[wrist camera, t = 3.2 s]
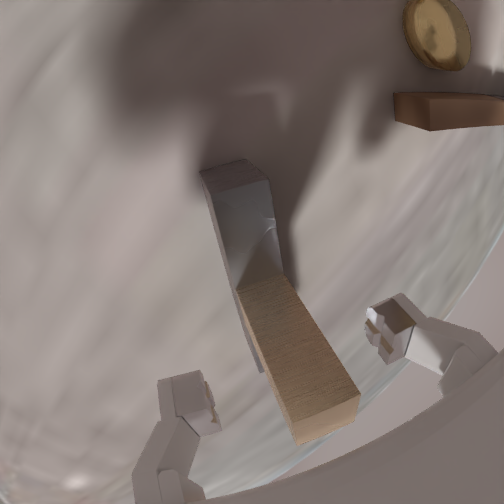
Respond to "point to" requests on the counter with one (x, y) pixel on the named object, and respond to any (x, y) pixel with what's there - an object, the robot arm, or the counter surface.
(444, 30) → the brass chip
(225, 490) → the counter surface
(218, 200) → the grey post with peg
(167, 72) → the counter surface
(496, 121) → the walnut slot rails
